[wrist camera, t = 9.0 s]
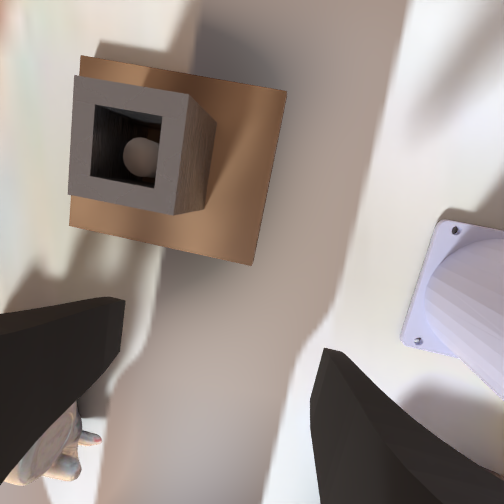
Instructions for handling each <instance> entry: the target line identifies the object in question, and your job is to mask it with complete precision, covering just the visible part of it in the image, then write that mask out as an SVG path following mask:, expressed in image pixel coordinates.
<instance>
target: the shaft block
mask: <svg viewBox="0 0 504 504" xmlns="http://www.w3.org/2000/svg"><path fill="white" fill-rule="evenodd" d="M79 76H83V77H89V78H95V79H101V80H107V81H113V82H119V83H125V84H130V85H136V86H142V87H148V88H154V89H160V90H166V91H172V92H178V93H184V94H189V95H190V96H191V97H192V98H193V99H194V100H195V101H196V102H197V103H198V104H199V105H200V106H201V107H202V108H203V109H204V110H205V111H206V112H207V113H208V114H209V115H210V116H211V117H212V118H213V119H214V120H215V121H216V122H217V126H216V133H215V140H214V146H213V153H212V160H211V166H210V173H209V179H208V186H207V193H206V199H205V206H204V210H200V211H195V212H189V213H184V214H179V215H174V216H173V215H168V214H163V213H158V212H153V211H148V210H143V209H138V208H133V207H128V206H123V205H118V204H113V203H108V202H103V201H98V200H93V199H88V198H83V197H78V196H73V195H71V206H70V220H69V226H72V227H77V228H82V229H86V230H91V231H95V232H100V233H104V234H109V235H113V236H118V237H122V238H127V239H131V240H136V241H141V242H145V243H150V244H154V245H159V246H163V247H168V248H173V249H177V250H181V251H186V252H191V253H195V254H199V255H205V256H209V257H213V258H218V259H222V260H227V261H231V262H236V263H240V264H245V265H249V266H252V264H253V261H254V255H255V251H256V246H257V241H258V236H259V231H260V226H261V221H262V216H263V211H264V207H265V202H266V196H267V192H268V187H269V182H270V177H271V172H272V167H273V162H274V157H275V152H276V147H277V142H278V137H279V132H280V128H281V123H282V117H283V113H284V108H285V103H286V98H287V92H286V91H282V90H277V89H271V88H266V87H260V86H254V85H248V84H243V83H237V82H231V81H226V80H220V79H214V78H208V77H203V76H197V75H191V74H186V73H180V72H174V71H168V70H163V69H157V68H151V67H145V66H140V65H134V64H128V63H122V62H117V61H111V60H105V59H100V58H94V57H88V56H82V55H81V58H80V73H79ZM160 134H161V131H157V130H152V129H148V135H147V139H146V138H141V137H138V138H134V139H132V140H131V141H129V142H128V143H127V145H126V146H125V148H124V152H123V160H124V163H125V166H126V167H127V169H128V170H129V171H130V172H131V173H132V174H134V175H136V176H141V177H143V181H147V182H152V183H155V178H156V169H157V160H158V152H159V143H160Z"/></svg>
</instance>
